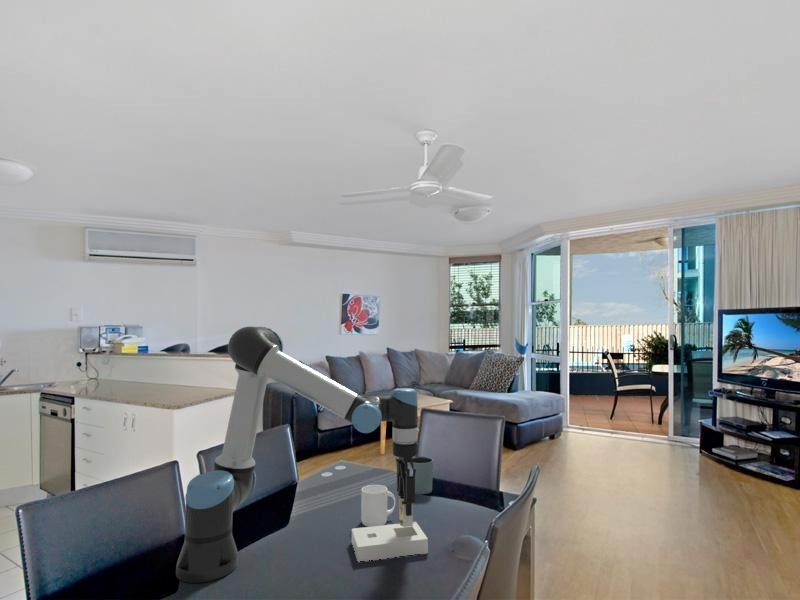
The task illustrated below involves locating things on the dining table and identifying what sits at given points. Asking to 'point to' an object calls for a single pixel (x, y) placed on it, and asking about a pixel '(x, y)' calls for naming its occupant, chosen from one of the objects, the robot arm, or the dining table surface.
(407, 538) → the block
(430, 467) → the grey-green cup
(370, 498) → the mug
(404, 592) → the dining table surface
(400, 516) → the cylinder
